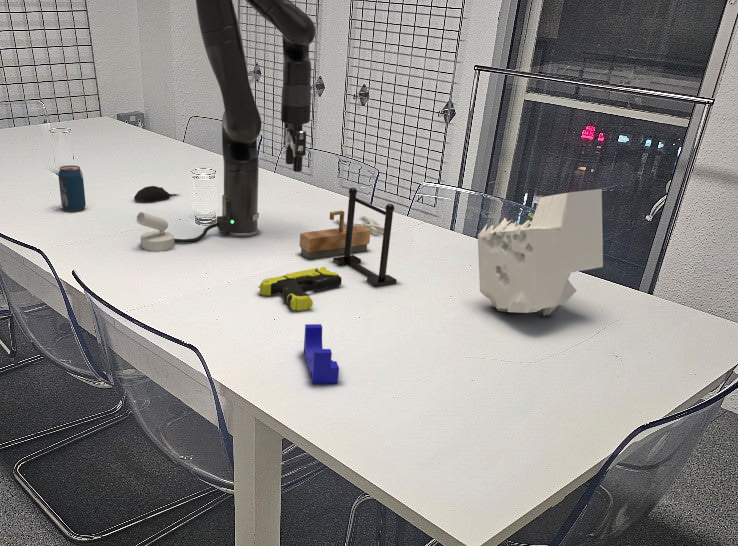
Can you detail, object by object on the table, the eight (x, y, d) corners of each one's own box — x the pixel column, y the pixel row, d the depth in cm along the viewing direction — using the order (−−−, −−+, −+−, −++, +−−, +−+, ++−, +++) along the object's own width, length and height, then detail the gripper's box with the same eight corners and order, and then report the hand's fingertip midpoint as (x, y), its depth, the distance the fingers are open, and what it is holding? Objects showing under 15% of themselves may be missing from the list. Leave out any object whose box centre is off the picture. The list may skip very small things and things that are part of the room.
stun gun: (364, 285, 165) (323, 265, 176) (293, 301, 156) (254, 278, 167) (362, 298, 167) (322, 277, 177) (292, 314, 157) (254, 291, 168)
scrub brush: (308, 260, 187) (311, 218, 182) (299, 254, 191) (301, 212, 186) (368, 251, 194) (372, 210, 189) (358, 245, 198) (361, 205, 193)
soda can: (89, 206, 223) (85, 165, 217) (82, 213, 217) (77, 171, 211) (66, 205, 224) (62, 164, 218) (58, 211, 218) (54, 169, 212)
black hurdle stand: (375, 287, 172) (383, 207, 163) (332, 261, 187) (338, 186, 177) (396, 283, 175) (406, 204, 165) (353, 258, 189) (359, 184, 179)
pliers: (364, 213, 219) (395, 227, 208) (364, 218, 220) (394, 232, 209) (336, 216, 215) (366, 231, 204) (335, 222, 216) (365, 237, 204)
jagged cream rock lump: (533, 326, 148) (528, 197, 143) (477, 323, 162) (470, 205, 157) (604, 311, 157) (602, 188, 151) (545, 309, 171) (541, 197, 165)
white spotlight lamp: (127, 209, 188) (158, 202, 194) (130, 246, 193) (159, 238, 199) (149, 216, 183) (180, 209, 189) (151, 254, 188) (181, 245, 194)
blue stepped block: (337, 383, 132) (340, 352, 129) (312, 383, 131) (314, 353, 128) (326, 353, 142) (329, 324, 139) (303, 353, 142) (305, 324, 139)
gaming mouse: (181, 197, 235) (181, 184, 233) (141, 204, 227) (140, 191, 225) (171, 193, 239) (170, 180, 237) (130, 199, 231) (129, 186, 229)
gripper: (275, 98, 195) (273, 162, 204) (288, 107, 184) (286, 174, 192) (303, 98, 197) (300, 161, 205) (317, 107, 185) (314, 173, 193)
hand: (293, 167), depth 199 cm, fingers open, 8 cm apart
